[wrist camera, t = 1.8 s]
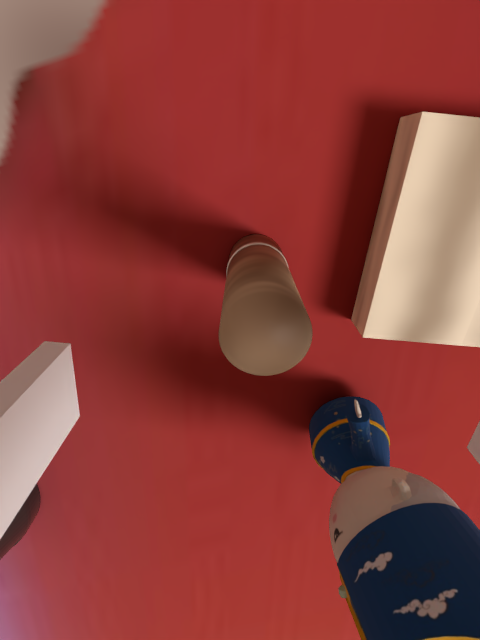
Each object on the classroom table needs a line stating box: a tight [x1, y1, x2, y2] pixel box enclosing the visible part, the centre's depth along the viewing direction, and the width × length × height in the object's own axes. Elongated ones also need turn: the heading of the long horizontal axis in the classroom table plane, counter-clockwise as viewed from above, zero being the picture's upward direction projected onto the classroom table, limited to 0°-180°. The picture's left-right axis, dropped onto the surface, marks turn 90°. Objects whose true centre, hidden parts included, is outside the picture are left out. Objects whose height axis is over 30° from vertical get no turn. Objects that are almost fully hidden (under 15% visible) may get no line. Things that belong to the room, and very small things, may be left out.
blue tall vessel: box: [309, 397, 480, 640], centre depth 22 cm, size 13×9×20 cm
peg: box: [219, 234, 312, 376], centre depth 21 cm, size 4×4×12 cm
